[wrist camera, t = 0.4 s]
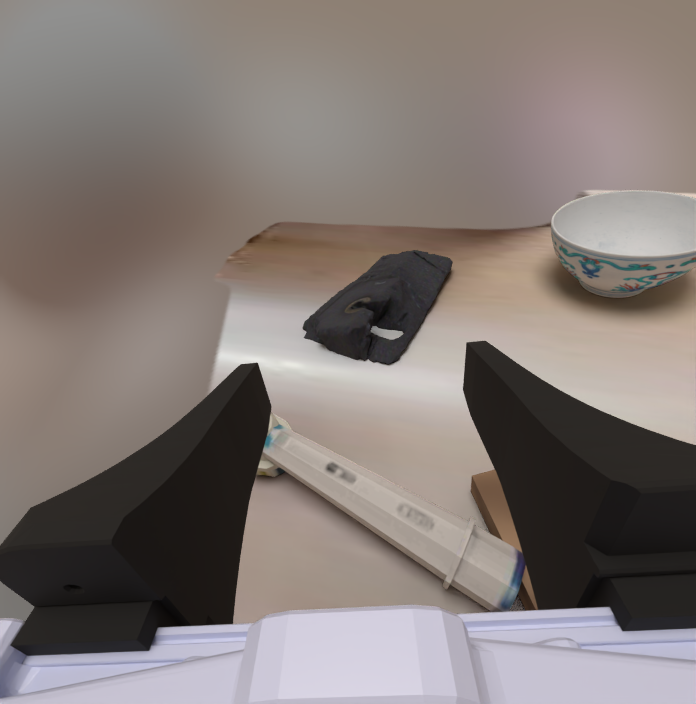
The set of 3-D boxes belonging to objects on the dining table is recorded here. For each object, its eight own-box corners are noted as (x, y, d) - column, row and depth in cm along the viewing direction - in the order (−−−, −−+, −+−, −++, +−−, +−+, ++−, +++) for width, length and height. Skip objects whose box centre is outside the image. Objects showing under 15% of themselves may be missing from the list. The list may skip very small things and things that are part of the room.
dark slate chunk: (472, 274, 51) (473, 243, 47) (388, 377, 40) (382, 346, 36) (381, 257, 59) (377, 230, 56) (292, 339, 48) (280, 311, 45)
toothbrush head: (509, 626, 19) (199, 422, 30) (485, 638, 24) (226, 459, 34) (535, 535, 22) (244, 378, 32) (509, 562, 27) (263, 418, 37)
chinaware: (682, 251, 44) (711, 186, 39) (708, 329, 35) (751, 258, 30) (544, 248, 50) (554, 193, 45) (536, 314, 41) (547, 253, 36)
